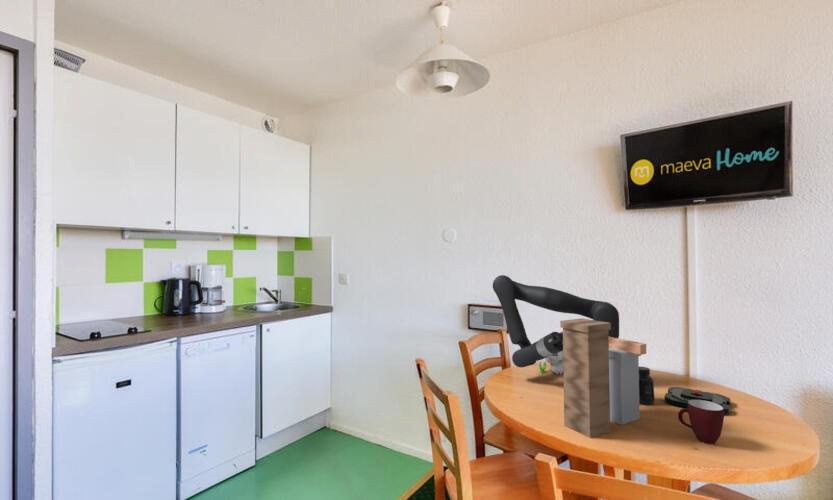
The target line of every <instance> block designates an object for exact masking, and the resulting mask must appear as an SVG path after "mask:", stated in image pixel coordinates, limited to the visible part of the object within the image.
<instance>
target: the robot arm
mask: <svg viewBox="0 0 833 500" xmlns="http://www.w3.org/2000/svg"><path fill="white" fill-rule="evenodd" d="M492 290H493V292H494V293H495V294H496V297H497V299H498V301H499V304H500V305H501V308H502V309H501V310H502V311H503V315H504V317H503V318H504V321H505V324H506V328H507V333H508V335H509V338H510V342H511V343H512V345H518V346H519V348H520V349H517V350H515V351H514V352H513V354H512V355H511V356H512V357H511V360H512V361H511V362H512V364H513V365H515V366H516V367H517V368H525V367H529V366H533V365H535V364H536V363H537V362H538V361H541V360H545V358H546V357H549V356H552V355H554V354H557V353H559V352H561V351H563V331H561V332H558V331H552V332H549V333H548V334H547V335H545V336H543V337H541V338H539V340H537V341H535V342H533V343H532V342H531V341H530V339H529V338H528V335H527V332H526V329H525V326H524V323H523V320H522V316H521V315H520V311H519V309H518V306H517V302H516V300H517V301H522V302H525V303H527V304H530V305H533V306H534V307H535V306H536V307H539V308H542V309H545V310H548V311H553V312H555V313H562V314H573V315H580V316H582V317H585V318H587V319H590V320H595V321H602V322H608V323H611V330H608V336H609V337H614V338H619V339H620V313H619V311H618V308H616V306H615V305H613V304H612V303H611V302H607V301H603V300H602V301H601V300H600V301H599V300H594V299H588V298H583V297H580V296H578V295H575V294H572V293H569V292H566V291H564V290H563V291H562V290H559V289H557V288H556V289H555V288H552V287H551V288H550V287H546V286H540V285H539V286H537V285H529V284H528V285H527V284H524V283H520V282H518V281H514V280H512V278H511V277H509V276H507V275H504V274H503V275H502V274H501V275H498V276H496V277H495V278H494V280H493V281H492Z"/></svg>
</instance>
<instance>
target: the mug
mask: <svg viewBox="0 0 833 500" xmlns="http://www.w3.org/2000/svg"><path fill="white" fill-rule="evenodd" d="M685 413H686V414H688V419H689V423H687V422H686V421H685V420H684V419H683V414H685ZM677 418H678V421H679V422H680V424H682V425H683V426H685V427H687V428H689V429H691V430H692V433H693V434H694V436H695V438H696V439H697V440H698V441H699V442H701V443H703V442H704V443H703V444H706V443H707V444H706V445H715V444H716V443H717V442H718V440H719V439H720V438H721V435H722V430H723V425H724V420H725V413H724V408H723V407H722V406H721V405H719V404H716V403H713V402H709V401H704V400H689V401H688V407H687V408H681V409H680V410H679V411H678V414H677Z"/></svg>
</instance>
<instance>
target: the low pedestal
mask: <svg viewBox="0 0 833 500" xmlns="http://www.w3.org/2000/svg"><path fill="white" fill-rule="evenodd" d="M641 356H642V355H639V354H634V353H630V352H625V351H621V350H616V349H612V348H609V390H610V422H611V421H612V422H614V423H616V424H618V425H621V426H622V425H626V424H629V423H632V422H635V421H637V420H640V418H641V417H640V404H639V357H641Z"/></svg>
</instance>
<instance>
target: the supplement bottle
mask: <svg viewBox="0 0 833 500" xmlns="http://www.w3.org/2000/svg"><path fill="white" fill-rule="evenodd" d="M654 383H655V382H654V378H653V377H652V376H651V368H649V367H647V366H639V405H644V406H651V405H654V404H655V390H654V389H655V384H654Z"/></svg>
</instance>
